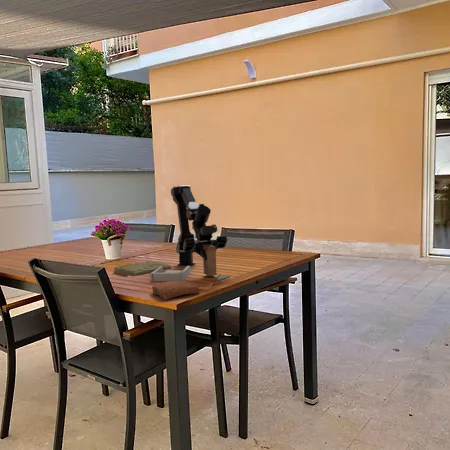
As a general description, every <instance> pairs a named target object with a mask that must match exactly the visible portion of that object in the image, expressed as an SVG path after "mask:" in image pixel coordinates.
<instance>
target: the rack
mask: <svg viewBox="0 0 450 450" xmlns="http://www.w3.org/2000/svg"><path fill="white" fill-rule="evenodd" d="M181 271H182V272H181V273H165V272H164V270H163V266H160V267H159V268H157V269H156V270H155V271H153V272H151V273H149V274H150V282H169V281H184V280H185V279H186V278H187V277H189V275H190V274H191V265H190V266H185V268H184V269H182V270H181Z"/></svg>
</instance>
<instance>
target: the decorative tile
mask: <svg viewBox="0 0 450 450" xmlns="http://www.w3.org/2000/svg"><path fill="white" fill-rule="evenodd" d="M160 266H163V271H165V270H166V271H167V270H171V269H172V267H171V265H170V264H168V263H165V262H159V261H155V260H148V261H144V262H135V263H126V264H124V265H123V264H121V265H119V266H114V269H113V273H114V274H118V275H121V276H124V277H129V276H133V277H137V276H141V275H145V274H151V273H152V272H153V271H155V270H156V269H157V268H159V267H160Z"/></svg>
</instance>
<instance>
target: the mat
mask: <svg viewBox="0 0 450 450" xmlns="http://www.w3.org/2000/svg"><path fill="white" fill-rule="evenodd" d="M228 278H231V275H222V274H219V275H217V277H215V279H213V281H212V282H211V284H212V283H216V282H220V281H222V280H225V279H228Z"/></svg>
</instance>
